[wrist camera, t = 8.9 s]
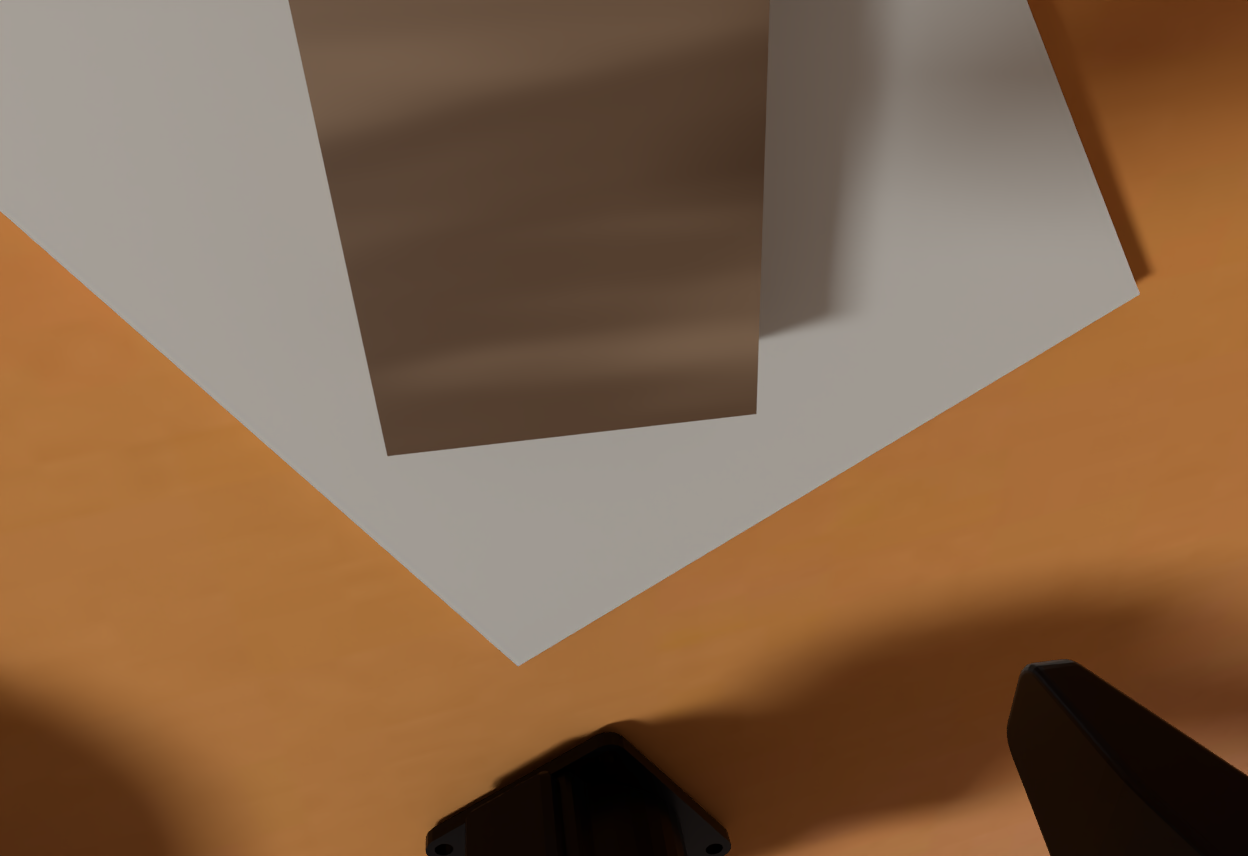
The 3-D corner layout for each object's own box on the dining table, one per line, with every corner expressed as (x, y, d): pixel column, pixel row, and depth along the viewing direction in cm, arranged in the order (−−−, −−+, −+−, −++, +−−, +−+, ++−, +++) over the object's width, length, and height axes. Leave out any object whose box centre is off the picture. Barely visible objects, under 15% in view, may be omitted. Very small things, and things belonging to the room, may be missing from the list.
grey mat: (1123, 282, 21) (1139, 294, 20) (516, 648, 24) (518, 666, 23) (677, -851, 11) (687, -881, 11) (-211, -2, 15) (-234, 5, 14)
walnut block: (756, 413, 17) (785, -498, 11) (387, 456, 17) (183, -481, 10) (725, 348, 19) (734, -450, 13) (395, 384, 19) (231, -434, 12)
